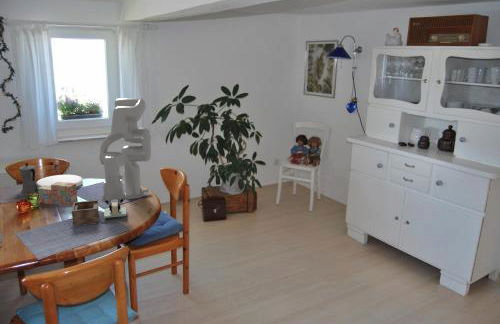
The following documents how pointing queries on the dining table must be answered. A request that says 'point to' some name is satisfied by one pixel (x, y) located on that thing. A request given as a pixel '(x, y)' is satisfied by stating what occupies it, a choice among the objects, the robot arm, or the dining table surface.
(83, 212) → the box
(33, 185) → the coffeepot
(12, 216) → the dining table surface
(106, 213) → the lid
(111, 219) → the grey flat slab
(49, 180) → the plate
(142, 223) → the dining table surface
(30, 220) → the dining table surface
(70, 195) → the stack of blocks
